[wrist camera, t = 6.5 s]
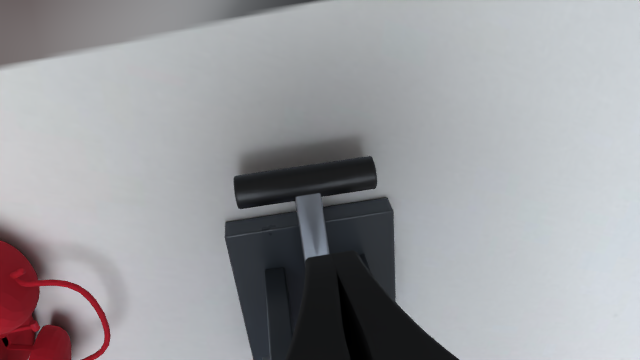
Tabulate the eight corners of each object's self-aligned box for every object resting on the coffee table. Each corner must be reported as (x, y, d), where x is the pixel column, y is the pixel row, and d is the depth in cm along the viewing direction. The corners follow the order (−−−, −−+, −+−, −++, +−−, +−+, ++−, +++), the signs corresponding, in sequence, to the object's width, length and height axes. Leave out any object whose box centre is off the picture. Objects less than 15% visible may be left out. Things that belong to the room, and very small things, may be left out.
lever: (236, 175, 23) (230, 177, 21) (366, 156, 24) (376, 155, 21) (269, 392, 24) (268, 418, 21) (397, 370, 24) (409, 393, 22)
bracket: (225, 221, 25) (220, 336, 18) (387, 196, 25) (436, 300, 19) (254, 350, 29) (258, 477, 23) (391, 326, 30) (431, 444, 24)
